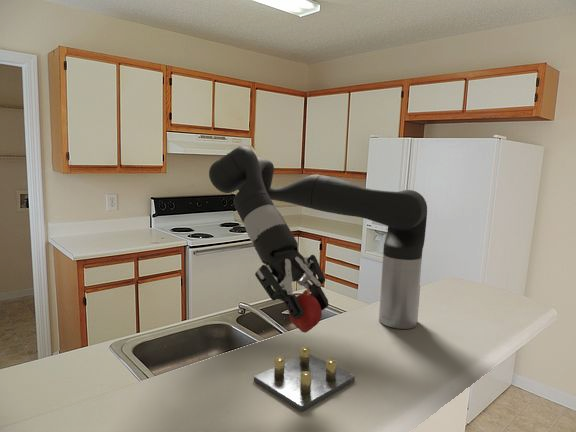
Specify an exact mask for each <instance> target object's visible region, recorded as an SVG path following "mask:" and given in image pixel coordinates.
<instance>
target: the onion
mask: <svg viewBox="0 0 576 432" xmlns="http://www.w3.org/2000/svg"><path fill="white" fill-rule="evenodd" d="M296 298H297V300H298V302H299V303H300V305H301V307H302V309H303V311H304V315H303V316H302V317H300V318H299V319H294V317H292V316H291V315H290V313H289V312H288V315H289V320H290V321H291V323H292V324H293V325H294V326H295V328H297V329H298V330H299V331H300V332H302V333H308V332H309V331H310V330H312V329H313V328H315V327H316V326H317V325H318V324H320V323H319V322H320V321H321V319H322V312H323V310H321V306H320V304H319V302H318V300H317V299H316V298H315V297H314V296H312V295H311V292H309V290H307V289H305V290H304V291H303V292H302V293H300V294H299V295H297V296H296Z"/></svg>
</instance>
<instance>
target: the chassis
mask: <svg viewBox="0 0 576 432" xmlns="http://www.w3.org/2000/svg"><path fill="white" fill-rule="evenodd" d="M355 378H356V376H355V375H353V374H351V373H349V372H348V371H345V370H343V369H341V368H339V367H337V361H336V360H335V359H327V360H326V361H325V360H323V359H321V358H319V357H317V356H315V355H312V354H311V353H310V347H308V346H301V347H300V349H299V356H297V357H295V358H292V359H290V360H288V361H286V362H285V358H283V357H280V356H279V357H276V358H274V367H272V368H270V369H268V370H265V371H263V372H261V373H258V374H255V375H254V376H253V382H254V383H255V384H257V385H259V386H260V387H262V388H263V389H265V390H267V392H268V393H269V392H270V393H271V394H272V395H274V396H276V397H277V398H279V399H280V400H282V399H283V400H284V402H286V403H287V404H288V403H289V404H288V405H290V406H291V405H292V407H293V406H294V407H295V408H294V407H293V408H294V409H296V410H297V409H298V411H299V412H301V413H302V412H305V411H306V410H307V409H309V408H311V407H312V406H315V405H316V404H318V403H320V402H322V401H324V400H325V399H327V398H329V397H330V396H332V395H333V394H335V393H337V392H339V391H341V390H342V389H344V388H345V387H347V386H350V385H351V384H353V383H354V382H355V381H356V379H355ZM283 400H282V401H283Z"/></svg>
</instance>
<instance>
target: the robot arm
mask: <svg viewBox="0 0 576 432" xmlns="http://www.w3.org/2000/svg"><path fill="white" fill-rule="evenodd" d="M274 171H275V167H274V163H273V162H272V161H270V160H269V159H266V158H263V157H259V156H257V154H256V153H255V152H254V150H252V149H251V148H249V146H248V147H247V146H245V145H242V146H238V147H236V148H234V149H233V150H231V151H230V152H228V153H227V154H225V155H224V156H222V157H220V159H218V160H216V161H215V162H213V163H212V165H211V166H210V167H209V170H208V177H209V180H210V182H211V184H212V186H213V187H214V188H215V189H216V190H218V191H219V192H221V193H224V194H232V193H234V192H236V191H238V192H237V193H236V194H235V196H234V197H233V206H234V208H235V210H236V212H237V214H238V216H239V217H240V219H241V222H242V224H243V225H244V228H245V231H246V233H247V236H248V238H249V240H250V242H251V243H252V244H251V245H252V246H253V247H254V249H255V251H256V253H257V255H258V257H259V259H260V260H261V263H263V264H262V265H261V266H260V267H259V268H257V270H256V271H255V273H254V275H255V278H256V279H257V280H258V282H259V283H260V284H261V286H262V288H263V289H264V291H265V292H266V294H268V296H269V298H270V299H271V300H272V301H276V300H280V301H281V302H283V303H284V305H285V307H286V309H287V311H288V314H289V313H290V315H291V316H292V317H294V319H299V318H300V317H302V316H303V315H304V311H303V309H302V307H301V305H300V303H299V302H298V300H297V298H296V297H297V296H296V294H293V286H292V283H293V282H294V283H295V282H296V283H297V284H298V285H299V286H303V287H304V288H305V290H309V292H310V294H311V295H312V296H314V297H315V298H316V299H317V300H318V302H319V304H320V306H321V311H324V310H325V309H326V308H328V307H329V299H328V298H327V296H326V293H324V290H323V289H322V286H321V285H323V284H324V283H325V282H326V278H325V275H324V272H323V270H322V267H321V266H320V264H319V262H318V259H317V256H316V255H315V254H311V255H310V256H309V257H304V255H302V254H301V253H300V252H299V249H298V246H299V245H298V242H297V240H296V238H295V236H294V234H293V233H292V230H291V229H290V227H289V226H288V224H287V222H286V220H285V219H284V217H283V215H282V214H281V213H280V211H279V210H278V209H277V207H276V205H275V204H274V202H273V201H277V202H284V203H287V204H292V205H297V206H300V207H304V208H308V209H312V210H316V211H321V212H323V213H324V212H326V213H329V214H336V215H343V216H348V217H349V216H350V217H356V218H362V219H365V220H369V221H372V222H375V223H378V224H381V225H384V226H387V231H386V238H385V239H384V240H385V241H384V243H383V252H382V253H383V254H382V267H381V283H380V299H379V314H378V321H379V323H380V324H383V326H386V327H388V328H393V329H401V330H408V329H409V330H410V329H413V328H415V327H416V326H417V322H418V320H419V319H418V318H419V306H420V296H421V295H420V293H421V292H420V291H421V276H422V275H421V272H422V258H423V250H424V245H425V241H426V240H425V239H426V229H427V220H428V219H427V218H428V217H427V216H428V204H427V201H426V199H425V198H424V195H422V194H421V193H419V192H417V191H416V190H412V189H411V190H410V189H404V190H400V191H391V190H389V191H388V190H379V189H373V188H372V189H371V188H366V187H363V186H361V185H358V184H355V183H353V182H351V181H347V180H345V179H342V178H338V177H336V176H335V177H334V176H328V175H322V174H318V173H317V174H310V175H308V176H306V177H302V178H300V179H298V180H296V181H294V182H292V183H290V184H287V185H283V186H281V187H280V186H279V187H273V188H272V183H273V178H274ZM304 275H305V276H304ZM303 276H304V277H303Z"/></svg>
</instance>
